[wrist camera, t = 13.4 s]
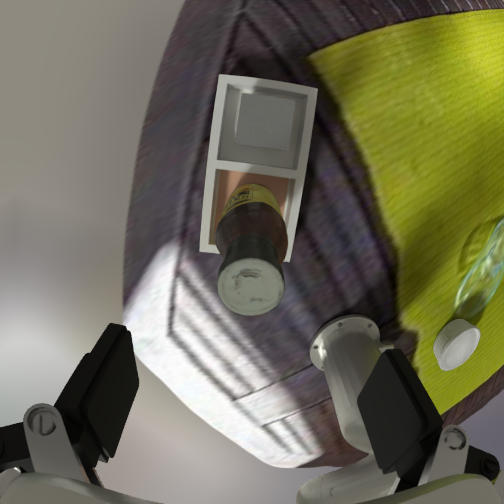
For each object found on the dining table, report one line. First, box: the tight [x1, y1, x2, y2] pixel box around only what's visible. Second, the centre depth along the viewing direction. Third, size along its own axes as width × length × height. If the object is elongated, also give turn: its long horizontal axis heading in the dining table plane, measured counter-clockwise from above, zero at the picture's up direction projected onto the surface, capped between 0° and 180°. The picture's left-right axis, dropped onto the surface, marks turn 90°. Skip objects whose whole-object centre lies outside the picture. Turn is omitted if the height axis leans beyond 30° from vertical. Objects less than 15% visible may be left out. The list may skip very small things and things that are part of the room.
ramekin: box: [433, 319, 480, 371], centre depth 43 cm, size 11×11×5 cm
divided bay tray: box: [200, 75, 318, 262], centre depth 32 cm, size 21×11×4 cm, turn 172°
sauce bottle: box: [215, 183, 288, 315], centre depth 25 cm, size 6×6×20 cm
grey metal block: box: [235, 93, 296, 151], centre depth 27 cm, size 5×5×8 cm
